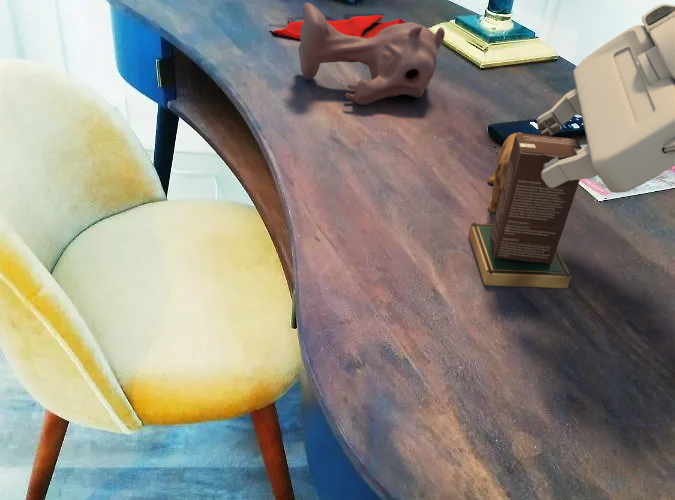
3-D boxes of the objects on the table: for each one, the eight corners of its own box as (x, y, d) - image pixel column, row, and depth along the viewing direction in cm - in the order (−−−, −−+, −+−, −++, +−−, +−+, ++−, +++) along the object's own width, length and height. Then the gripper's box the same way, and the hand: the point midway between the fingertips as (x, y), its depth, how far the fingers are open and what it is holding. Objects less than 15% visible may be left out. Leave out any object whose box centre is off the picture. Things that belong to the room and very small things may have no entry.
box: (544, 239, 68) (579, 137, 60) (551, 266, 64) (589, 161, 57) (487, 232, 68) (515, 129, 61) (491, 259, 64) (521, 153, 57)
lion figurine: (537, 234, 71) (560, 164, 66) (489, 229, 71) (508, 158, 66) (519, 166, 83) (537, 101, 77) (477, 162, 83) (493, 97, 77)
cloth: (273, 47, 108) (273, 34, 107) (266, 19, 119) (266, 6, 117) (422, 48, 113) (424, 35, 112) (402, 21, 124) (404, 9, 122)
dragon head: (314, 79, 84) (461, 65, 87) (299, -8, 87) (440, -18, 90) (307, 128, 97) (434, 115, 100) (294, 50, 100) (417, 40, 103)
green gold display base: (543, 237, 71) (547, 225, 70) (567, 288, 64) (571, 276, 63) (468, 234, 70) (471, 222, 69) (484, 285, 64) (487, 273, 63)
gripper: (749, 156, 46) (567, 241, 53) (686, 52, 61) (553, 128, 69) (710, 88, 43) (526, 186, 51) (655, -2, 59) (521, 82, 66)
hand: (542, 152), depth 60 cm, fingers open, 8 cm apart
